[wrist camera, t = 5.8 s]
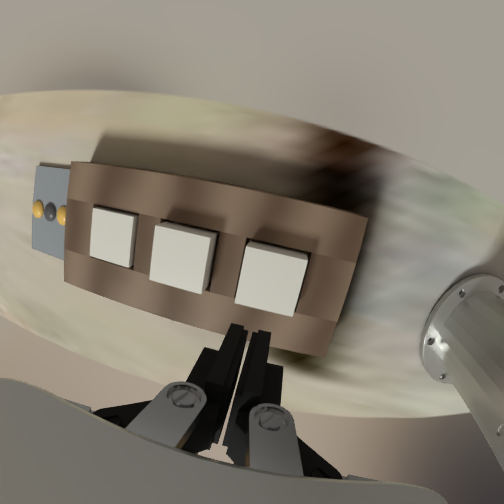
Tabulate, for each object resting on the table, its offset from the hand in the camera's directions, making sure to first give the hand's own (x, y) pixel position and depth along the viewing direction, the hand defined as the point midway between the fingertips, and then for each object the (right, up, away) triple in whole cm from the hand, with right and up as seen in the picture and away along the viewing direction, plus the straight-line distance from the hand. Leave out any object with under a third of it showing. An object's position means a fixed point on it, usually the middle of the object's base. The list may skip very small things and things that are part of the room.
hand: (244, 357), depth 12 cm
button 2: (-11, +6, +14) cm, 19 cm away
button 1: (+2, +3, +12) cm, 12 cm away
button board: (-5, +5, +14) cm, 16 cm away
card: (-22, +9, +16) cm, 29 cm away
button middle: (-5, +4, +12) cm, 14 cm away
